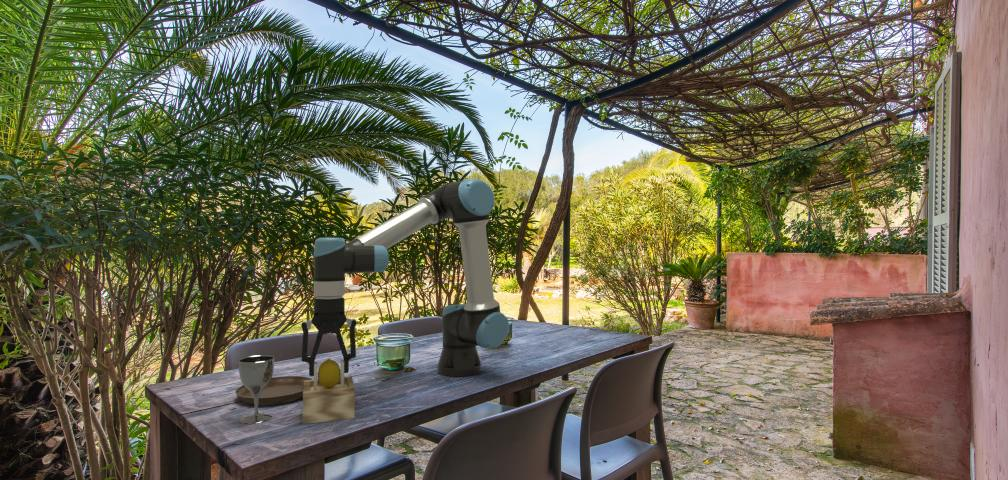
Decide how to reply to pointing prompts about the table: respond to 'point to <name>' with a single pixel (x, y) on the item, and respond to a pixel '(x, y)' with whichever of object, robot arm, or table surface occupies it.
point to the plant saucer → (276, 391)
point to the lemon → (329, 374)
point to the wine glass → (256, 381)
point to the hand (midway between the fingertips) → (329, 386)
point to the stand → (328, 401)
